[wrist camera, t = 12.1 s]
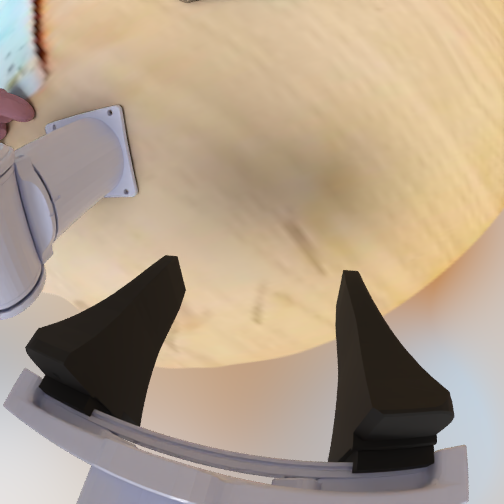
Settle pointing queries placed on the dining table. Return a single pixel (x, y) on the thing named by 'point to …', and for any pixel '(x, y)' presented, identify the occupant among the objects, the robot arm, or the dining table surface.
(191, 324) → the dining table surface
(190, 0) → the grey open box
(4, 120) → the video game controller
